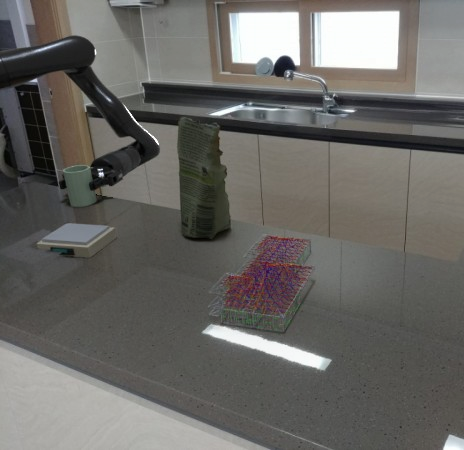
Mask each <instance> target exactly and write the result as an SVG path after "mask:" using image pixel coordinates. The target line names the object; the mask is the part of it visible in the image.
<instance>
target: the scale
mask: <svg viewBox="0 0 464 450" xmlns="http://www.w3.org/2000/svg"><path fill="white" fill-rule="evenodd" d="M117 238H118V236H117V231H116V227H114V226H113V227H111V226H110V225H103V224H102V225H101V224H87V223H70V222H67V223H65V224H63V225H61V226H60V227H59V228H56V229H55V230H54V231H52V232H51V233H48V234H47V235H46V236H44V237H42V238H41V240H40V241H38V242H37V243H36V248H37V249H38V250H47V251H51V252H60V253H58V255H63V256H62V257H71V256H73V257H72V258H83V257H84V258H85V259H91V258H93V256H95V255H97V253H99V252H100V251H102V250H103V249H104V248H106V247H107V246H108V245H110V244H111V243H112V242H113V241H114V240H116V239H117ZM74 256H75V257H74Z"/></svg>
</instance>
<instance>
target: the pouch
mask: <svg viewBox="0 0 464 450" xmlns="http://www.w3.org/2000/svg"><path fill="white" fill-rule="evenodd" d="M177 125H178V126H177V127H178V129H177V143H176V145H177V146H176V150H177V158H178V178H179V209H180V221H181V226H180V228H181V233H182V234H183V235H184V236H185V237H188V238H193V239H195V238H208V239H210V240H213V238H214V237H215V236H216V235H217V234H218V233H220V232H223V231H225V230H232V227H231V225H232V222H231V221H232V218H231V212H230V207H231V206H230V200H229V195H228V193H227V191H226V180H225V179H226V178H227V177H228V172H227V170H228V168H227V166H226V165H225V164H222V161H221V156H223V153H224V151H223V150H221V149H220V140H221V137H220V136H219V134H220V130H221V125H220V124H218V123H217V122H212V123H210V124H209V123H207V122H204V123H200V117H198V118H197V120H193V119H192V118H190V117H187V116H182V117H179V120H178V121H177Z"/></svg>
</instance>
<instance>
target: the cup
mask: <svg viewBox="0 0 464 450" xmlns="http://www.w3.org/2000/svg"><path fill="white" fill-rule="evenodd" d="M62 174H63V175H64V179H65V183H66V192H67V196H68V199H69V200H68V201H69V204H70V206H71V207H74V208H81V207H87V206H90V205H94V204H95V203H97V202H98V199H97V195H96V190H95V191H91V190H90V187H89V182H91V181H93V179H92V174H91V170H90V166H89V165H87V164H76V165H72V166H68V167H65V168H63V170H62Z"/></svg>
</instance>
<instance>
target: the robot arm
mask: <svg viewBox="0 0 464 450" xmlns="http://www.w3.org/2000/svg"><path fill="white" fill-rule="evenodd" d="M96 56H97V51H96V47H95V45H94V44H93V43H92V42H91V40H89V39H88V38H87V37H83V36H82V35H78V34H77V35H72V34H71V35H68V36H65V37H62V38H59V39H56V40H53V41H50V42H46V43H43V44H39V45H33V46H25V47H17V48H12V49H6V50H5V49H4V50H0V92H1V91H5V90H9V89H13V88H16V87H19V86H22V85H24V84H27V83H30V82H33V81H34V80H36V79H38V78H41V77H43V76H45V75H49V74H52V73H56V72H57V73H58V72H63V73H64V75H66V76H67V77H68V78H69V79H70V80H71V81H72V82H73V83H74V85H76V87H78V88H79V90H80V91H81V92H82V93H83V94H84V95H85V97H86V98H87V99H88V100H89V101H90V102H91V104H93V106H94V107H95V108H96V110H97V111H98V113H100V115H101V116H102V118H103V119H104V120H105V122H106V123H107V125H108V126H109V127H110V129H111V130H112V131H113V133H114V134H115V135H116V136H117V137H118V138H119V139H123V138H127V137H130V138H132V139H134V141H132V142H130V143H129V144H127V145H126V146H122V147H119V148H118V149H116V150H113V151H109V152H107V153H105V154H103V155H100V156H99V157H96V158H94V160H93V161H92V162H91V164H90V166H89V167H90V170H91V174H92V179H93V181H91V182H89V187H90V190H91V191H95V192H96V191H97V190H98V189H100V188H104V187H107V186H109V187H114V186H115V185H117V184H118V183H120V182H121V181H123V180H124V177H125V176H127V175H128V174H129V173H131V172H132V171H134V170H135V169H137V168H139V167H141V166H142V165H144V164H146V163H148V162H150V161H151V160H154V159H156V158H157V157H158V156H159V155H160V152H161V146H160V143H159V142H158V140H157V139H156V137H155V136H154V135H153V134H152V133H150V132H148V130H146V129H145V127H143V126H142V125H141V124H139V122H138V121H136V119H135V118H134V116H133V114H131V112H130V111H129V109H128V108H127V107H126V105H125V104H124V103H123V101H122V100H121V99H120V98H119V97H118V96H117V95H115V94H114V93H113V92H112V91H111V90H110V89H109V88H108V87H107V86H106V85H105V84H104V83H103V82H102V81H101V80H100V78H99V77H98V76H97V74H96V72H95V71H94V69H93V67H92V65H93V64H94V62H95V60H96ZM61 176H62V179H60V180H59V181H58V185H59V189H60V190H65V189H66V190H67V188H66V183H65V179H64V175H63V173H62V174H61Z"/></svg>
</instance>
